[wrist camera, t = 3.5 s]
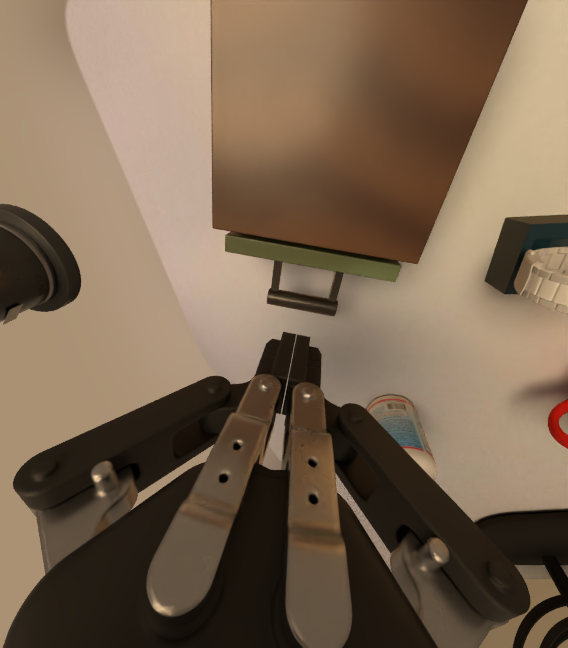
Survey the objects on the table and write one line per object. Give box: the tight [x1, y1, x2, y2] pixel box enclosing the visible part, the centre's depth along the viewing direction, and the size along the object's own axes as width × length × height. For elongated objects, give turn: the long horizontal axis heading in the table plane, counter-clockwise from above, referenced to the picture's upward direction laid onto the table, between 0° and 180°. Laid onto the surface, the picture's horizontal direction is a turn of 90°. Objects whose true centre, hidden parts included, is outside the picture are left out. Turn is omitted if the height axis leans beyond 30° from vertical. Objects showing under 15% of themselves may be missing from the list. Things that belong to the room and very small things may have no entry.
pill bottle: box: [367, 395, 437, 480], centre depth 29 cm, size 6×6×11 cm
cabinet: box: [211, 0, 528, 264], centre depth 16 cm, size 16×14×8 cm
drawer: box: [225, 232, 402, 316], centre depth 19 cm, size 19×12×6 cm, turn 172°
